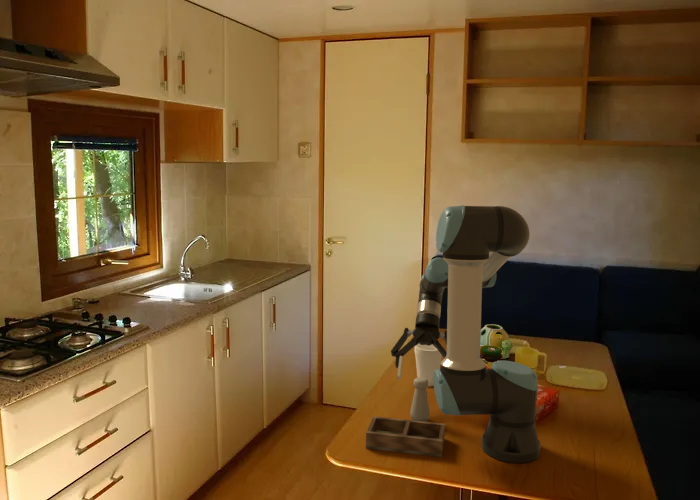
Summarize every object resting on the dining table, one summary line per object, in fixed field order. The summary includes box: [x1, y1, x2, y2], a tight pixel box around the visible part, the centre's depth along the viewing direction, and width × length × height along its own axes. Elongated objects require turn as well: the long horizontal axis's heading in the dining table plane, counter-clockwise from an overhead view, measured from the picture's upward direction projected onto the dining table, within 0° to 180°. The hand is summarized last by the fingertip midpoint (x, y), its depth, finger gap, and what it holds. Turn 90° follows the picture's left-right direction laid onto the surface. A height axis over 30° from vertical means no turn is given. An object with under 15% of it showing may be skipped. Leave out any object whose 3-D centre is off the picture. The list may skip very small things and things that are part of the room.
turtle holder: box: [480, 323, 514, 360], centre depth 235 cm, size 12×18×12 cm
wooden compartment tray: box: [365, 415, 446, 458], centre depth 166 cm, size 20×10×4 cm, turn 77°
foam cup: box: [414, 344, 444, 387], centre depth 209 cm, size 10×9×13 cm
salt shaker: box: [409, 377, 431, 422], centre depth 179 cm, size 6×6×13 cm
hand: (421, 379), depth 184 cm, fingers open, 13 cm apart
